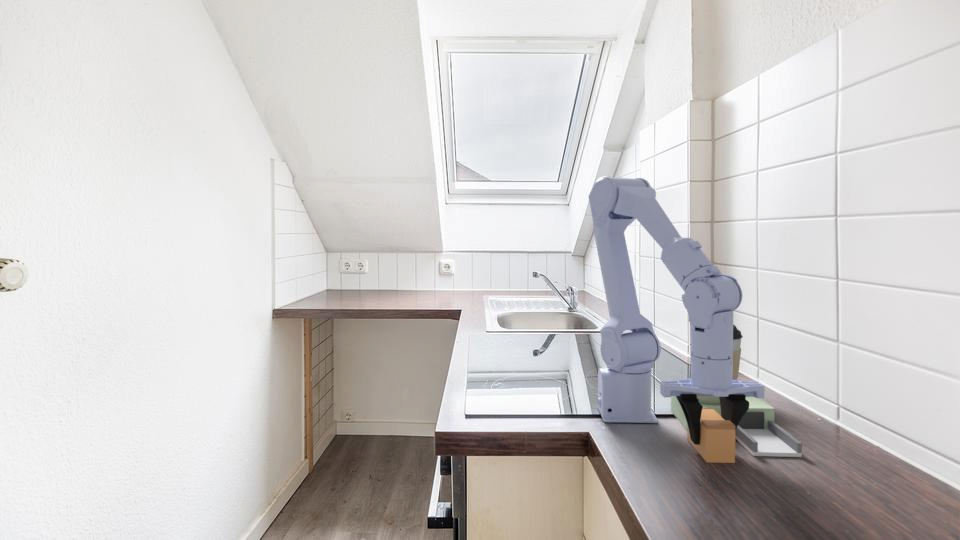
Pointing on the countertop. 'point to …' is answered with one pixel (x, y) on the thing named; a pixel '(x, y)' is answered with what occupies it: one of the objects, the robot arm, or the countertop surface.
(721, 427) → the orange stepped block
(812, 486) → the countertop surface
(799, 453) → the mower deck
